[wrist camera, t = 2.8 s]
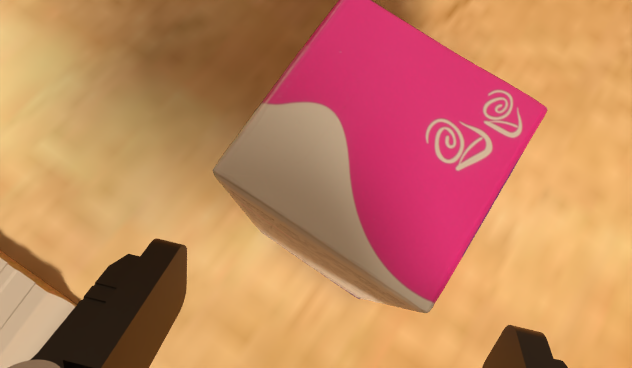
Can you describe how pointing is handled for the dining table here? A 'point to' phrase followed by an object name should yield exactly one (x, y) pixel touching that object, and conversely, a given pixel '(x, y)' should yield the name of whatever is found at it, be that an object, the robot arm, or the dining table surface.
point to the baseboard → (27, 312)
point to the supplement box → (378, 155)
